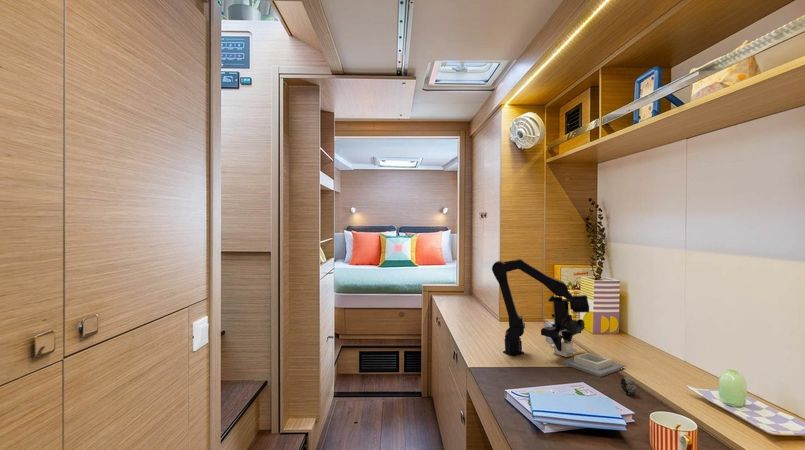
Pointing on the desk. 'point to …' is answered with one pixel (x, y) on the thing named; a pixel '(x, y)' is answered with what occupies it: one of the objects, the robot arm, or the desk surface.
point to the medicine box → (549, 324)
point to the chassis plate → (593, 364)
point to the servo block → (564, 348)
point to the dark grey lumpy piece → (631, 387)
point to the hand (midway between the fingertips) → (563, 350)
